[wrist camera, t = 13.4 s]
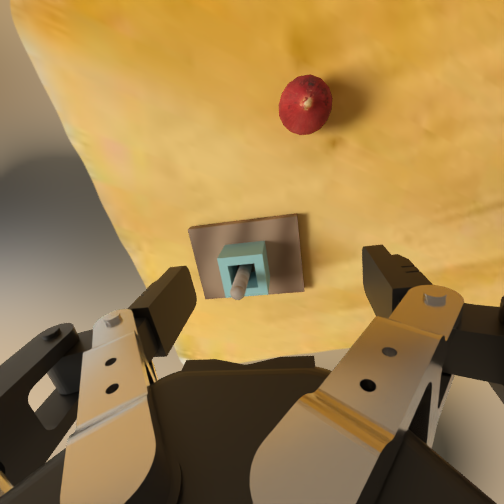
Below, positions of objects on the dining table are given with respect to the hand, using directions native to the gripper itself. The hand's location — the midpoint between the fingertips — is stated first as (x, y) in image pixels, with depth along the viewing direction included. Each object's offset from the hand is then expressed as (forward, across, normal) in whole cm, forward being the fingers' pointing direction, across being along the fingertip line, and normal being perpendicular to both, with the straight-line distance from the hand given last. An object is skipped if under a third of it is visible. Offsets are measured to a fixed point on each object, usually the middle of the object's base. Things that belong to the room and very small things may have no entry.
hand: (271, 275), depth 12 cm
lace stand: (+27, +7, +10) cm, 29 cm away
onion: (+27, -3, -9) cm, 29 cm away
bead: (+25, +7, +10) cm, 28 cm away
